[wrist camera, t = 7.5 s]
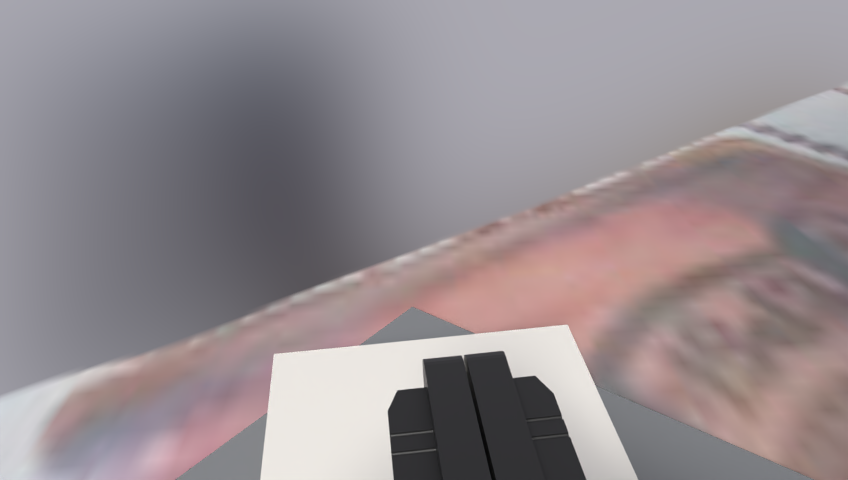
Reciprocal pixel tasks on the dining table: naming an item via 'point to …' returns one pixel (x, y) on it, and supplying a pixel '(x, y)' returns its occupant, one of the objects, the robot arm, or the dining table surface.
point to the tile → (403, 369)
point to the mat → (635, 424)
